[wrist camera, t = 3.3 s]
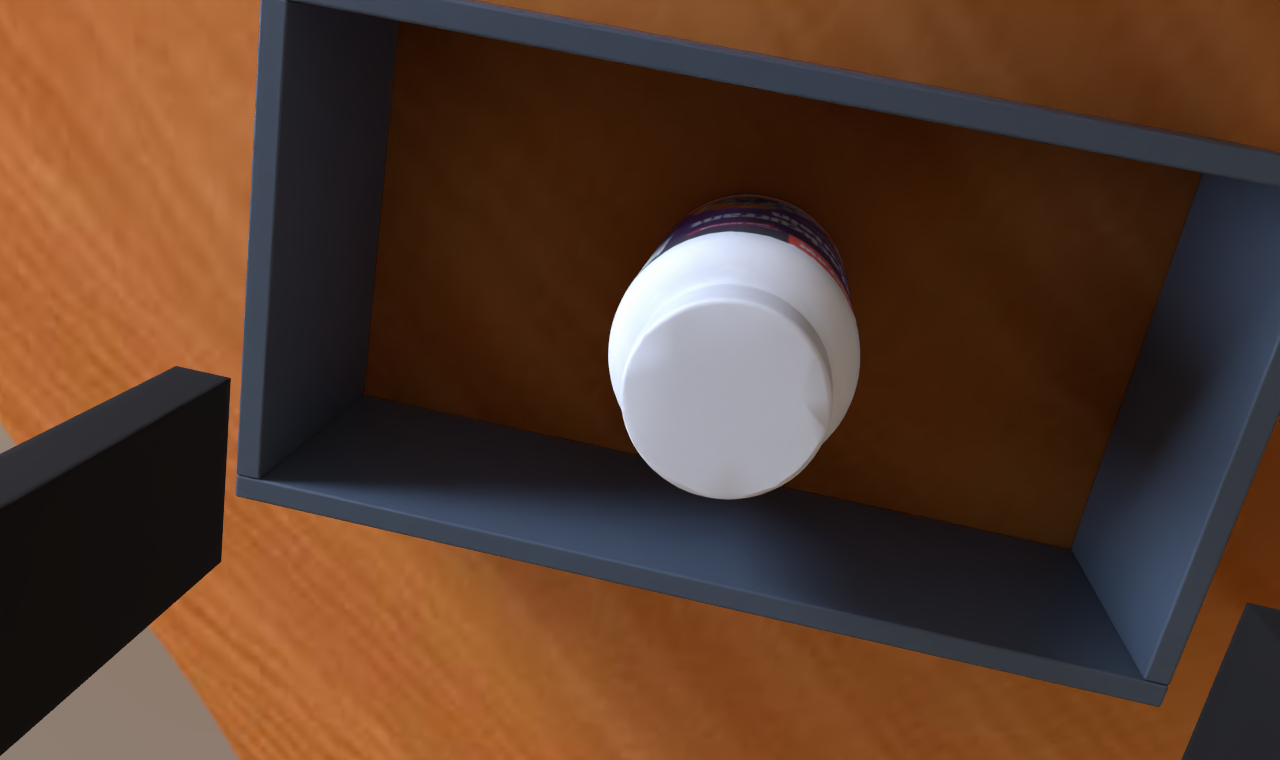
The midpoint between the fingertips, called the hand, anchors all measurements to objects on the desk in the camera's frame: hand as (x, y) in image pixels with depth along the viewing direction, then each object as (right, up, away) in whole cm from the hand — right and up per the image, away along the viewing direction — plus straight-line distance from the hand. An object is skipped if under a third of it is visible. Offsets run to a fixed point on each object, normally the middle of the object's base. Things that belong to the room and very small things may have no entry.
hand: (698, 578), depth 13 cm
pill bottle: (+2, +5, +15) cm, 16 cm away
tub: (+2, +5, +15) cm, 16 cm away
